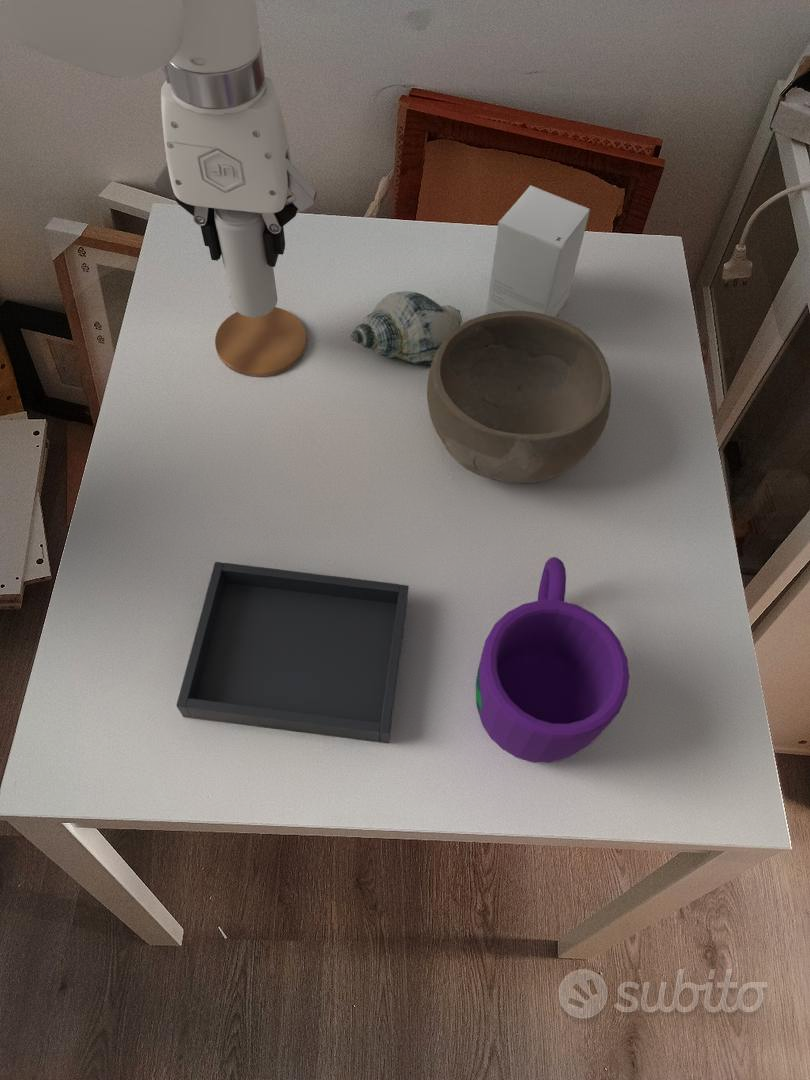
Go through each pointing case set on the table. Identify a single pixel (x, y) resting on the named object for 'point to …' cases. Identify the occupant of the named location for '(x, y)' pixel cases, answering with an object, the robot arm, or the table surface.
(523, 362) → the bowl
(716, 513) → the table surface
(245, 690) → the tray
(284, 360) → the copper pad
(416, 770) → the table surface
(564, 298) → the white packaging box
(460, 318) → the seashell
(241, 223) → the beverage can
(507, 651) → the mug
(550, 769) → the table surface
